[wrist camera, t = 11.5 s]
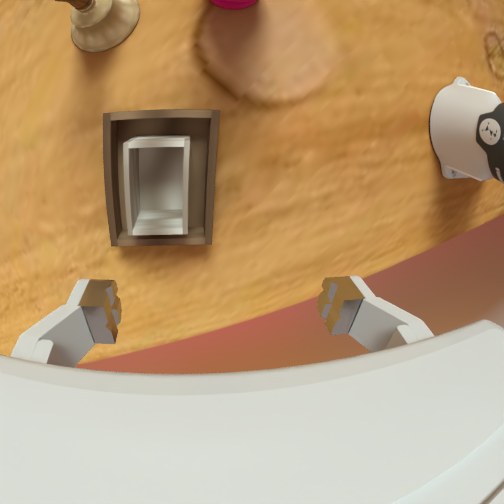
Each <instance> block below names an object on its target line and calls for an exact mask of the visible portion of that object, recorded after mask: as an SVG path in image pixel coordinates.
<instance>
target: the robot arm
mask: <svg viewBox="0 0 504 504" xmlns="http://www.w3.org/2000/svg"><path fill="white" fill-rule="evenodd" d="M430 133H431V139H432V144H433V147H434V150H435V152H436V154H437V156H438V158H439V160H440V163H441V170H442V174H443V176H444V177H445V178H448V179H453V178H474V179H476V180H478V181H483V180H489V179H493V178H495V179H497V180H499V181H501V182H502V183H503V184H504V103H502V102H501V101H500V99H499V98H498V97H497V96H496V94H495V93H494V92H491V91H488V90H484V89H480V88H476V87H472V86H471V85H470V84H469V83H468V82H467V81H466V80H465V79H464V78H463V77H457V78H456V79H455V80H454V82H453V83H452V84H451V85H449V86H447V87H445V88H443V89H442V90H441V91H440V92H439V93H438V95H437V96H436V98H435V100H434V103H433V106H432V110H431V117H430ZM322 288H323V291H322V292H321V293H320V294H319V297H318V301H317V304H318V305H317V307H318V311H319V314H320V316H321V317H323V318H324V319H326V322H325V325H326V327H327V329H328V331H329V333H330V335H336V334H345V333H349V335H351V336H352V337H353V338H354V339H356V340H357V341H358V342H359V343H361V344H362V345H363V346H364V347H366V348H367V349H368V350H370V351H371V352H372V353H368V354H363V355H359V356H354V357H349V358H344V359H339V360H333V361H326V362H320V363H314V364H307V365H300V366H292V367H284V368H275V369H266V370H256V371H242V372H227V373H205V374H146V373H126V372H111V371H99V370H89V369H80V368H74V367H75V366H76V365H77V364H78V362H79V361H80V360H81V359H82V358H83V357H84V356H85V355H86V354H87V352H88V351H89V350H90V349H91V348H92V347H93V346H94V345H95V343H101V344H115V342H116V338H117V334H118V329H117V325H118V324H119V323H120V321H121V312H122V309H121V302H120V298H119V297H118V296H117V295H116V294H117V291H118V288H117V284H116V282H115V280H97V279H79V280H78V281H77V283H76V285H75V287H74V289H73V290H72V292H71V295H70V297H69V299H68V301H67V303H66V305H62V306H60V307H59V308H57V309H56V310H54V311H53V312H51V313H50V314H49V315H47V316H46V317H44V318H43V319H42V320H40V321H39V322H37V323H36V324H35V325H33V326H32V327H30V328H29V329H28V330H26V331H25V332H24V333H22V334H21V335H20V337H19V339H18V341H17V343H16V345H15V347H14V349H13V352H12V354H11V356H6V355H2V354H0V504H504V328H502V327H500V326H499V325H497V324H495V323H493V322H491V321H489V320H480V321H477V322H475V323H472V324H470V325H467V326H464V327H461V328H458V329H455V330H452V331H449V332H446V333H443V334H440V335H437V336H434V335H433V333H432V332H431V331H430V330H429V328H428V327H427V326H426V324H425V323H424V322H423V321H422V320H421V319H419V318H417V317H415V316H413V315H411V314H410V313H408V312H406V311H404V310H402V309H400V308H398V307H396V306H395V305H393V304H391V303H389V302H387V301H385V300H383V299H381V298H379V297H377V298H376V297H375V295H374V294H373V293H372V292H371V290H370V289H369V288H368V287H367V285H366V284H365V283H364V282H363V280H362V279H361V278H360V277H359V276H357V275H353V276H345V277H327V278H325V279H324V280H323V283H322Z"/></svg>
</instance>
